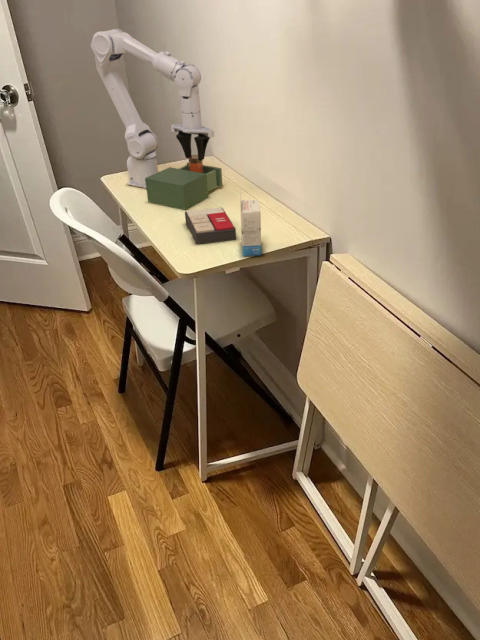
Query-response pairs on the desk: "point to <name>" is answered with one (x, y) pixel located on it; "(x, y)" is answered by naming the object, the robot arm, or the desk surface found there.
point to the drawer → (210, 175)
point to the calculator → (210, 225)
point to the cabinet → (177, 188)
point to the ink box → (250, 227)
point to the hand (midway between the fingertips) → (194, 158)
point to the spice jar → (195, 164)
